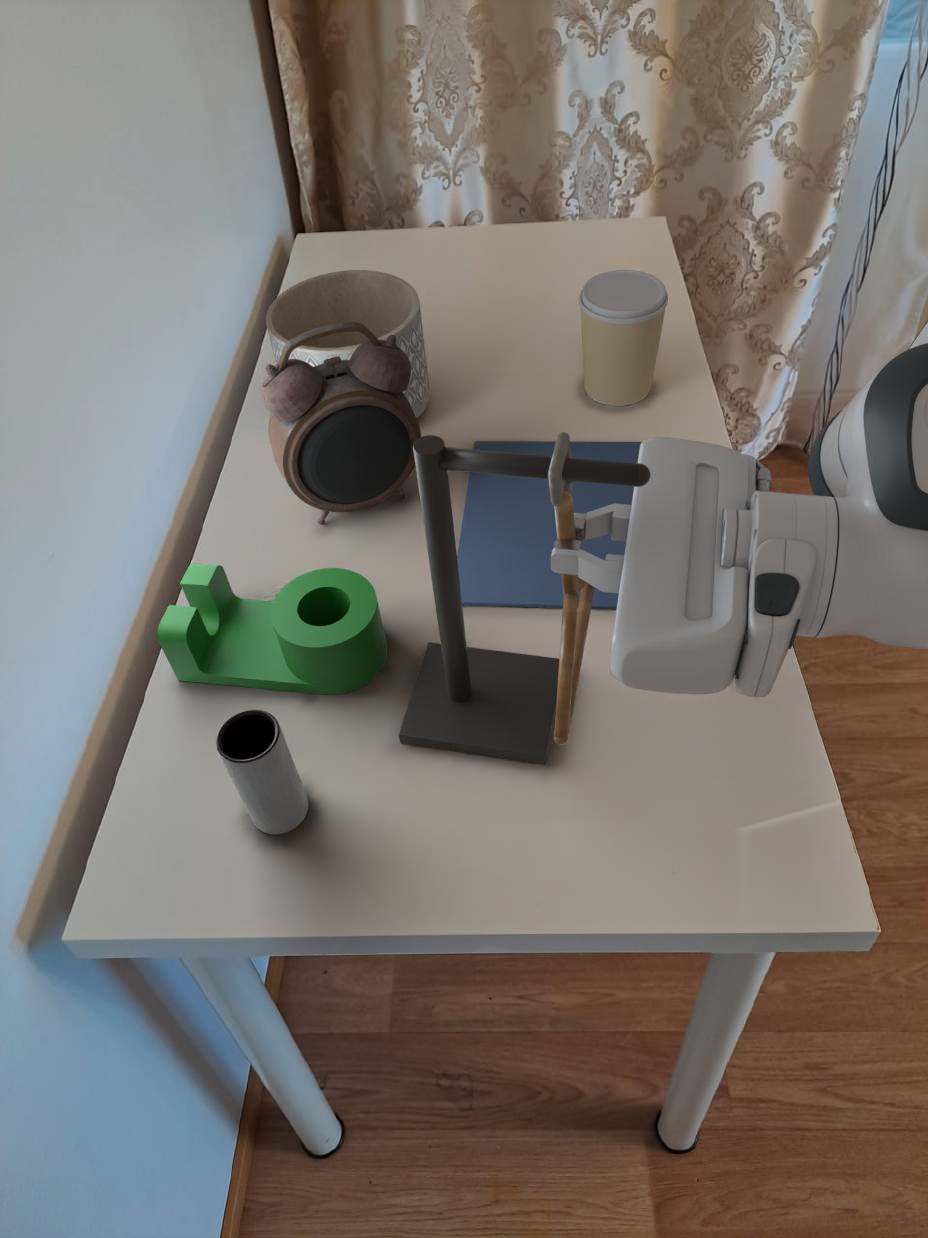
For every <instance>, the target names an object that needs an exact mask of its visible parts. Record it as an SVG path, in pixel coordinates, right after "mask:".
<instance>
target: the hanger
mask: <svg viewBox="0 0 928 1238" xmlns="http://www.w3.org/2000/svg"><path fill="white" fill-rule="evenodd" d="M555 441H556V443H555V447H554V451H553V455H552V459H551V463H550V467H549V471H548V479H549V488H550V498H551V503H552V504H553V505H554V509H555V519H556V529H557V538H558V539H565V540H567V541H568V540H576V533H575V521H574V509H573V498H572V496H571V493H572V488H573V481H566V480H562V471H563V466H564V462H565V458H566V457H569V458H571V447H570V441H571V438H570V435H569V434H568V433H567V432H564V431H562V432H559V433H558V434H557V436H556V438H555ZM561 577H562V587H563V593H564V599H563V608H562V614H561V615H562V616H561V627H560V643H559V646H560V647H559V658H558V659H559V671H558V686H557V700H556V709H555V714H554V731H553V740H554V742H555V743H556V745H560V746H564V745H566V744H567V743H568V742H569V738H570V737H569V736H570V733H571V726H572V721H573V716H574V715H573V714H574V710H575V709H574V708H575V705H576V704H575V702H576V697H577V691H578V685H579V682H580V681H579V680H580V675H581V670H582V669H581V668H582V662H583V658H584V651H585V646H586V642H587V641H586V640H587V635H588V630H589V629H588V628H589V622H590V617H591V611H592V609H591V606H592V600H593V595H594V589H595V587H593V586H592V585H590V584H589V583H587V582H585V581H584V580H582V579H581V578H579V577H578V575H570V574H561ZM580 591H581V595H580V600H579V605H578V594H579V592H580ZM577 606H578V608H577Z"/></svg>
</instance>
